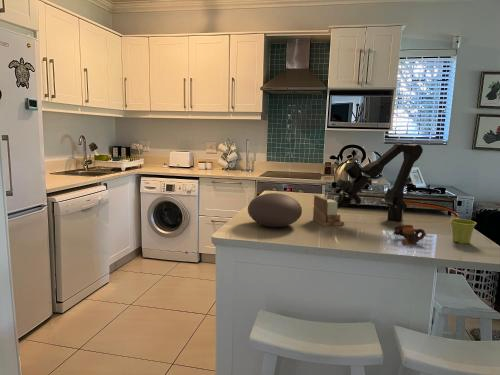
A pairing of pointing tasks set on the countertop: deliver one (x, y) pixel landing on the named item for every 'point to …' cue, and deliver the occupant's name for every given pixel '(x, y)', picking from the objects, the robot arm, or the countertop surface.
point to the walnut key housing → (324, 213)
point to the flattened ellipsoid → (274, 210)
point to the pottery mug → (409, 234)
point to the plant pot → (462, 230)
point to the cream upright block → (331, 207)
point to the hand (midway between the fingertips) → (334, 208)
